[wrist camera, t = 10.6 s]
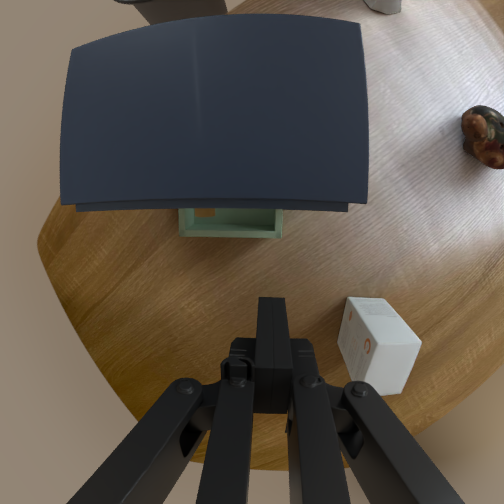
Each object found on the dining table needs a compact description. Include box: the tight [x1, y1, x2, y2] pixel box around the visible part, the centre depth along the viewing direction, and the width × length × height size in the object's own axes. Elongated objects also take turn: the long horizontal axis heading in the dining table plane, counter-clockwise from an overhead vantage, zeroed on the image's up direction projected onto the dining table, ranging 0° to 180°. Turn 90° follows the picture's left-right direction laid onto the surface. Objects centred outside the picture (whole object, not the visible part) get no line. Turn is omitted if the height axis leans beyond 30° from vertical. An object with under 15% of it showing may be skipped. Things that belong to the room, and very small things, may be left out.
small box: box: [337, 297, 422, 396], centre depth 34 cm, size 8×6×13 cm
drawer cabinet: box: [60, 14, 369, 217], centre depth 25 cm, size 13×20×21 cm
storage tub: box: [178, 208, 283, 238], centre depth 33 cm, size 18×12×5 cm, turn 179°
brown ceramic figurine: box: [461, 105, 504, 169], centre depth 28 cm, size 10×15×8 cm, turn 92°
